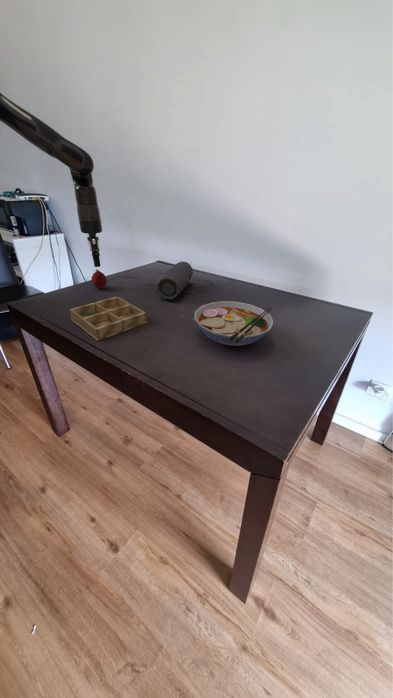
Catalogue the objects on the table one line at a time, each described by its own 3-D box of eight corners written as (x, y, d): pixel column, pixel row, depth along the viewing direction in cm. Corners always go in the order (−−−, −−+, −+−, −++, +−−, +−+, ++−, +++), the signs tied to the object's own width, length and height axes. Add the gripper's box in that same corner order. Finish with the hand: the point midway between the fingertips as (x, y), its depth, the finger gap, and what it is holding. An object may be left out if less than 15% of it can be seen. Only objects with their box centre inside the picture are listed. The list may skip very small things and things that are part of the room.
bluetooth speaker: (180, 304, 106) (180, 278, 100) (156, 301, 107) (155, 275, 102) (193, 284, 125) (194, 261, 119) (173, 281, 126) (173, 258, 121)
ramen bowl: (219, 314, 100) (221, 292, 96) (281, 334, 89) (287, 310, 85) (175, 343, 82) (175, 317, 78) (245, 372, 72) (250, 345, 67)
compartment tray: (97, 341, 82) (95, 329, 80) (71, 320, 92) (69, 309, 90) (147, 323, 92) (146, 312, 90) (118, 306, 102) (117, 296, 100)
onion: (106, 285, 119) (103, 266, 115) (109, 290, 115) (106, 270, 110) (91, 287, 117) (88, 268, 112) (94, 292, 112) (91, 272, 108)
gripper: (78, 215, 106) (85, 259, 115) (78, 221, 95) (87, 269, 103) (99, 214, 108) (105, 257, 117) (102, 221, 97) (108, 268, 106)
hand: (96, 263), depth 110 cm, fingers open, 8 cm apart
